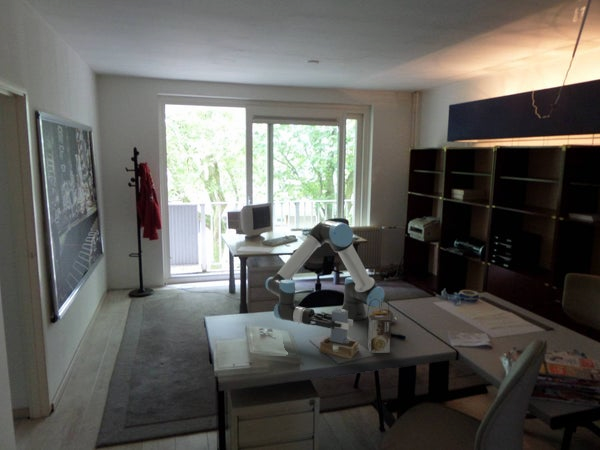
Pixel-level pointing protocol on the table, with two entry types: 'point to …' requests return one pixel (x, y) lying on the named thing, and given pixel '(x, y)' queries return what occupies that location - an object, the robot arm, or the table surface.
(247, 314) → the table surface
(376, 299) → the multimeter
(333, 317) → the blue-grey rectangular block
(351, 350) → the pocket tray
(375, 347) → the coffee box
